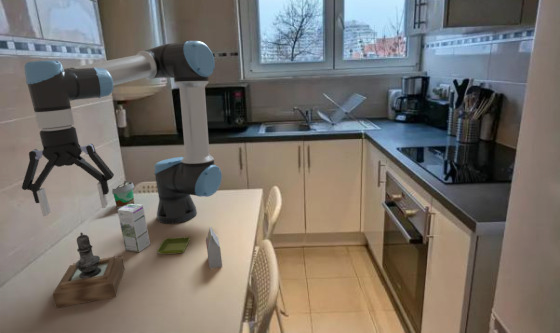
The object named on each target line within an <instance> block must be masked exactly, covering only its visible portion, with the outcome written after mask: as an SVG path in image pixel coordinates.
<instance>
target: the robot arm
mask: <svg viewBox="0 0 560 333" xmlns="http://www.w3.org/2000/svg"><path fill="white" fill-rule="evenodd" d="M215 65H216V63H215V57H214V54H213V52H212V50H211V49H210V48H209V46H208V45H207V44H206V43H205V42H202V41H199V40H187V41H181V42H172V43H165V44H162V45H159V46H155V47H153V48H148V49H145V50H139V51H138V52H137V53H136V54H135V55H131V56H125V57H119V58H114V59H109V60H108V59H107V60H104V61H98V62H93V63H87V64H83V65H77V66H73V67H69V68H64V67H63V65H62V62H61V61H59V60H34V61H33V60H32V61H27V62H26V63H25V64H24V65H23V66H24V75H25V82H26V85H27V88H28V91H29V95H30V99H31V103H32V107H33V110H34V116H35V119H36V124H37V128H38V129H41V130H40V131H39V136H40V140H41V145H42V150H38V149H36V148H35V149H32V150H31V151H29V152H28V159H29V162H28V166H27V169H26V171H25V175H24V178H23V183H22V185H21V189H22V190H24V191H26V190H27V191H31V192H32V195H33V196H32V197H33V199H34V202H35V203H36V204H39V206H40V209H41V214H42V216H43V217H47V216H48V215H49V214H50V213H51V209H50V205H49V202H48V198H47V194H46V193H47V192H46V189H45V187H42V185H43V183H44V182H45V180H46V179H47V178H48V176H49V175H50V173H51V172H52V170H53V169H54V167H57V168H59V167H60V168H61V167H64V166H67V167H68V166H70V167H71V166H73V165H75V166H77V167H80V168H81V169H82V170H83V171H85V172H86V173H87V174H89V176H92V177H93V178H94V179H95V180H96V181H98V182H97V184H96V185H97V191H98V196H99V200H100V205H101V208H102V209H105V208H106V207H107V206H108V200H107V196H106V195H108V193H109V191H110V190H109V189H110V188H109V185H108V182H109V180H112V179H113V178H114V176H115V174H114V173H113V171H112V170H111V169H110V167H109V166H108V165H107V163H106V162H105V161H104V160H103V159H102V158H101V156H100V155H99V154H98V152H97V151H96V148H95V145H94V144H93V143H89V144H87V145H82V146H81V145H80V144H79V143H80V142H79V138H78V133H77V128H76V127H75V126H74V125H75V120H74V115H73V111H72V106H71V101H75V100H77V101H78V100H88V99H96V98H98V99H100V98H104V97H108V96H110V95H111V94H112V92H113V90H114V86H117V85H121V84H126V83H130V82H133V81H137V80H140V79H145V80H147V81H150V80H154V79H160V78H161V79H164V78H165V79H166V78H167V79H173V81H174V84H175V85H176V86H177V87H178V88H179V99H180V100H179V101H180V109H181V122H182V133H183V146H184V156H178V157H177V156H176V157H172V158H167V159H162V160H161V161H160V160H159V161H158V162H156V163H155V165H153V166H154V178H155V184H156V189H157V194H158V205H157V210H156V217H157V218H156V219H157V221H158V222H160V223H162V224H178V223H182V222H186V221H189V220H191V219H193V218H195V217H196V215H197V207H196V205H195V202H194V200H193V198H192V197H191V196H197V197H204V198H205V197H211V196H213V195H214V194H216V193H217V192H218V190H219V188H220V186H221V183H222V178H223V173H222V170H221V169H220V167H219V166H217V165H215V159H214V157H213V155H211V154H210V145H209V144H210V143H209V129H208V115H207V114H208V113H207V103H206V101H207V100H206V86H208V84H209V82H210V81H209V77H210V76H211V75H213V73H214V70H215ZM83 152H84V154H86V155H88V157H89V159H90V160H92V162H93V163H94V164H95V165H96V168H95V167H94V166H93V165H92V164H91V163H90V162H88V161H87V160H86V159H85V158H84V157H82V156H81V154H82V153H83ZM42 157H44V158H46V159H47V163H46V164H45V165H44V168H43V169H42V171H41V172H40V174H39V176H38V177H37V178H36V180H35V181H34V178H35V175H36V172H37V169H38V166H39V162H40V159H42ZM97 167H98V169H99V170H98V169H97ZM33 182H34V183H33Z"/></svg>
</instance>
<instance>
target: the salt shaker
mask: <svg viewBox="0 0 560 333" xmlns="http://www.w3.org/2000/svg"><path fill="white" fill-rule="evenodd" d="M76 243H77V252H78V254H79V260H77V261H76V262H75V263H76V264H75V265H76V267H77V268H78V269H79V270H80V271H81V273H80V275H79V277H80V278H83V279H85V278H91V277H94V276H96V275H98V274H99V273H100V272H101V268H98V265H99V260H100V259H101V258H100V256H98V255H94V253H93V245H91V241H90V237H89V236H88V235H87V234H84V233H83V232H80V234H79V235H78V236H77V238H76Z"/></svg>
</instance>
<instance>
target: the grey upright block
mask: <svg viewBox="0 0 560 333" xmlns="http://www.w3.org/2000/svg"><path fill="white" fill-rule="evenodd" d="M205 238H206V239H205V244H206V251H207V259H208V261H207V262H208V266H209V269H216V268H222V267H223V260H222V253H221V250H222V249H221V246H220V241H219V237H218V235H217V234H216V232H215V231H214V230H213V228H212V227H209V229H208V233H207V237H205Z"/></svg>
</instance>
